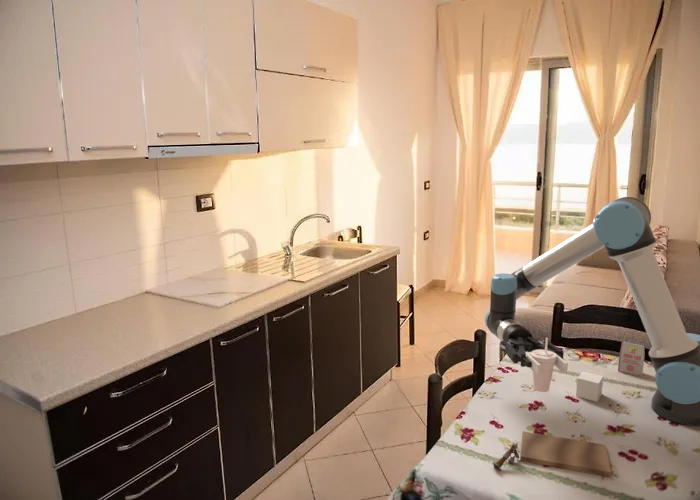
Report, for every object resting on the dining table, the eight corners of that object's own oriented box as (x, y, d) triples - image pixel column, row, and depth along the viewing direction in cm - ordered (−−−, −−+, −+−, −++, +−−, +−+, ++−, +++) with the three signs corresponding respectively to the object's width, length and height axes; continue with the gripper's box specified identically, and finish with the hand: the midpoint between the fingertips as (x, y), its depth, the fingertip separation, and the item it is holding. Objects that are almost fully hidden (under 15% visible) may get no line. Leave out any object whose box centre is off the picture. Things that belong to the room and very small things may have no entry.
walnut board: (605, 449, 137) (605, 444, 136) (610, 476, 126) (610, 472, 125) (522, 435, 143) (522, 431, 143) (520, 460, 132) (520, 456, 132)
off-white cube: (601, 394, 166) (603, 376, 164) (596, 402, 161) (598, 383, 160) (581, 389, 169) (582, 371, 168) (575, 396, 164) (577, 378, 163)
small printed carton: (620, 367, 184) (623, 339, 182) (642, 372, 180) (645, 344, 178) (617, 371, 181) (620, 343, 179) (640, 376, 177) (643, 347, 175)
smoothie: (558, 394, 138) (561, 342, 135) (532, 394, 138) (535, 342, 136) (549, 383, 145) (552, 333, 142) (525, 383, 145) (528, 333, 142)
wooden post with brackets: (523, 456, 133) (519, 443, 131) (502, 478, 129) (498, 465, 128) (517, 452, 134) (513, 439, 132) (496, 474, 131) (492, 462, 129)
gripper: (545, 346, 159) (588, 380, 137) (482, 350, 157) (514, 385, 135) (547, 322, 158) (590, 352, 135) (483, 325, 156) (516, 357, 133)
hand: (552, 369), depth 135 cm, fingers closed on smoothie, 6 cm apart
